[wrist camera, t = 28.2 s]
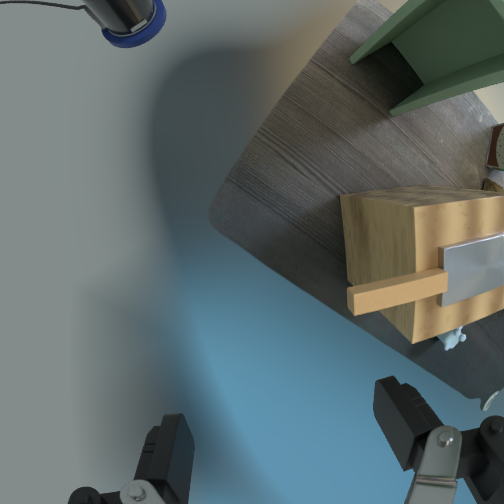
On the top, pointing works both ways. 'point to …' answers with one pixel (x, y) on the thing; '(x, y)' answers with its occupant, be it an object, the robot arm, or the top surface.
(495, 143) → the mint chocolate cake slice
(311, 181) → the top surface
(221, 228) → the top surface
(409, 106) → the tall green cabinet
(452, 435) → the robot arm
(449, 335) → the figurine
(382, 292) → the knife
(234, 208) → the top surface
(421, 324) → the block
